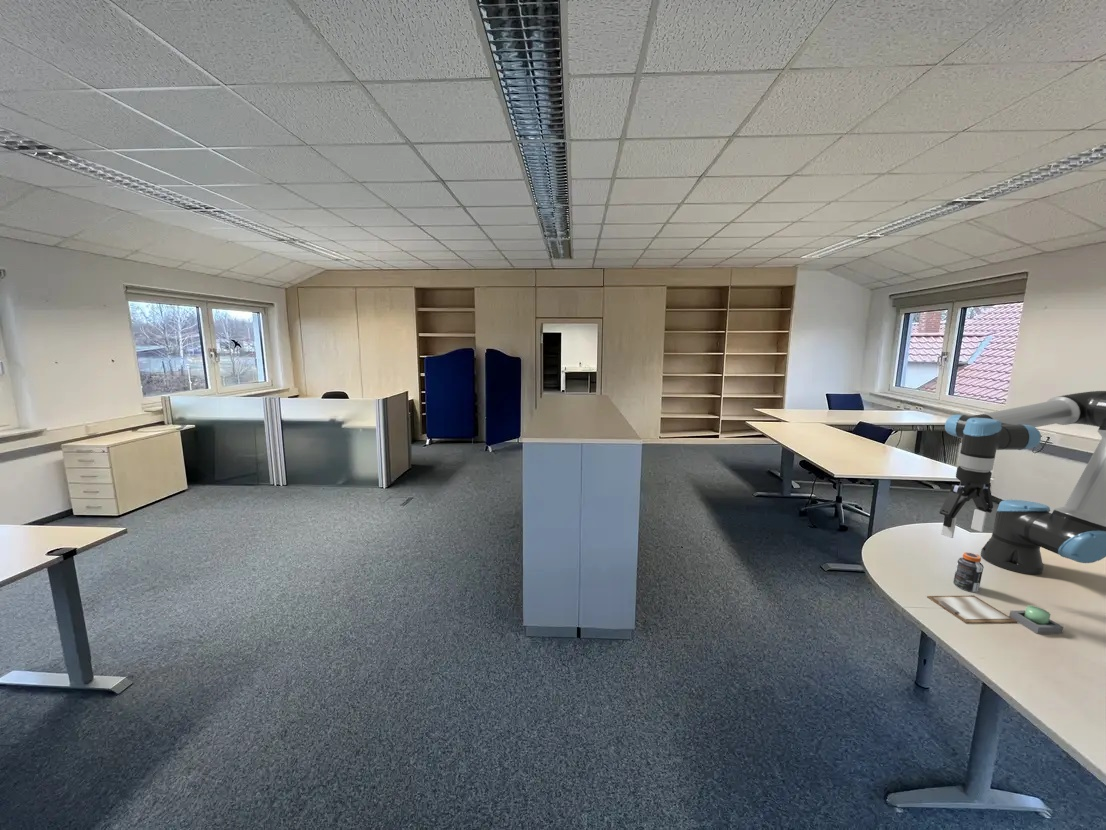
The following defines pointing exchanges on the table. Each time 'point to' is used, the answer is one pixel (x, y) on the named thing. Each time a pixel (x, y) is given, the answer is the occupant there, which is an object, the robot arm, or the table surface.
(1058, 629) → the button frame
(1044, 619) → the button
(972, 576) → the pill bottle
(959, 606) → the clipboard
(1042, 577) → the table surface
